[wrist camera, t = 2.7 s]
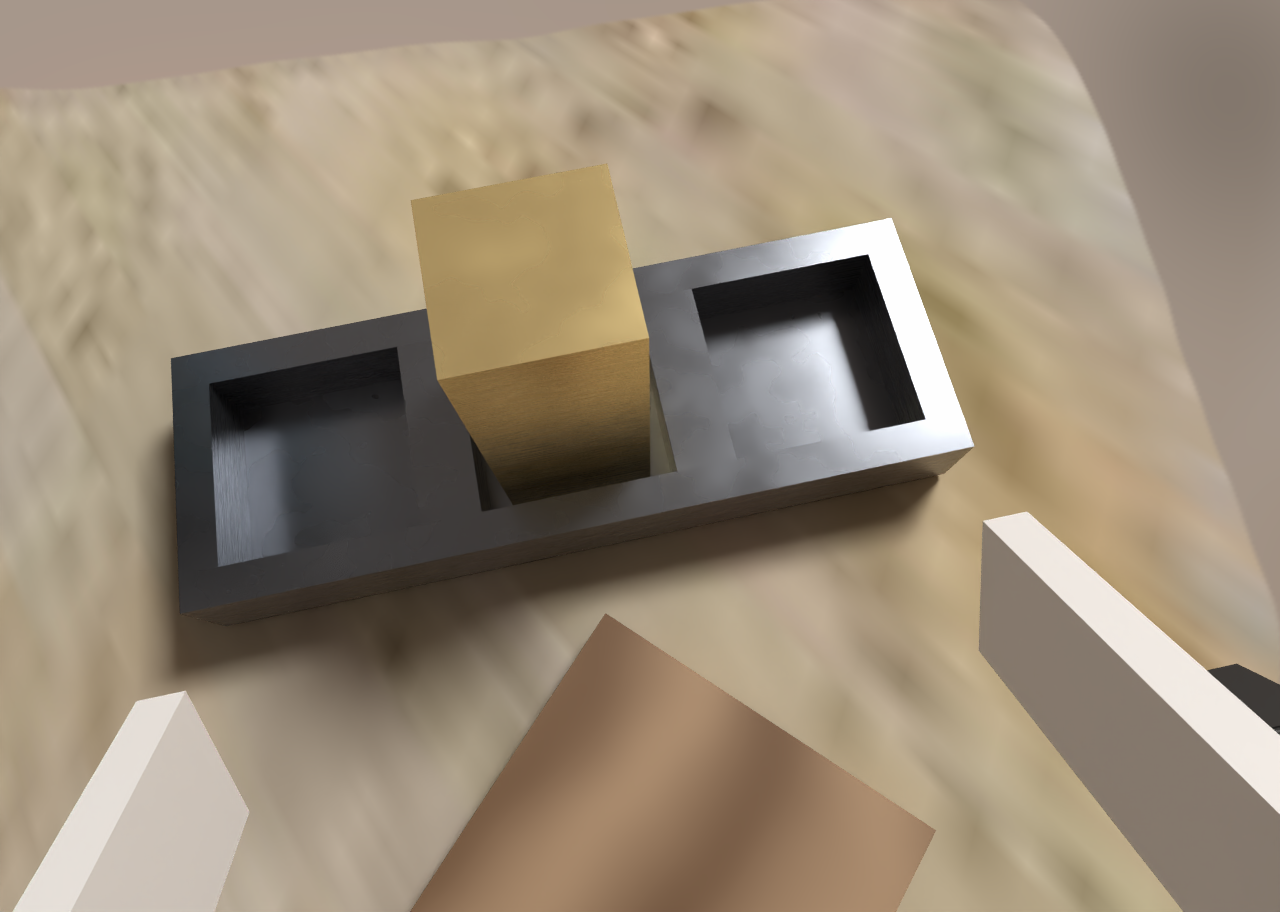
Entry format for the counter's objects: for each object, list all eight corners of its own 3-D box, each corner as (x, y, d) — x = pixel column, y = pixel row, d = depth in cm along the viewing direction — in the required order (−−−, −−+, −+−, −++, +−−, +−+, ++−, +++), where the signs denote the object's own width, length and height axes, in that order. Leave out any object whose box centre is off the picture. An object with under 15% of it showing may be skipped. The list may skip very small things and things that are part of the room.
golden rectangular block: (513, 505, 30) (437, 379, 19) (491, 379, 31) (410, 200, 21) (650, 476, 30) (648, 337, 19) (622, 353, 31) (606, 163, 21)
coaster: (392, 949, 26) (376, 962, 24) (607, 619, 29) (605, 613, 27) (726, 1215, 23) (731, 1245, 22) (920, 825, 27) (936, 830, 25)
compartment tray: (226, 625, 29) (179, 613, 26) (214, 392, 32) (171, 358, 29) (943, 473, 30) (974, 446, 27) (870, 262, 33) (891, 218, 30)
